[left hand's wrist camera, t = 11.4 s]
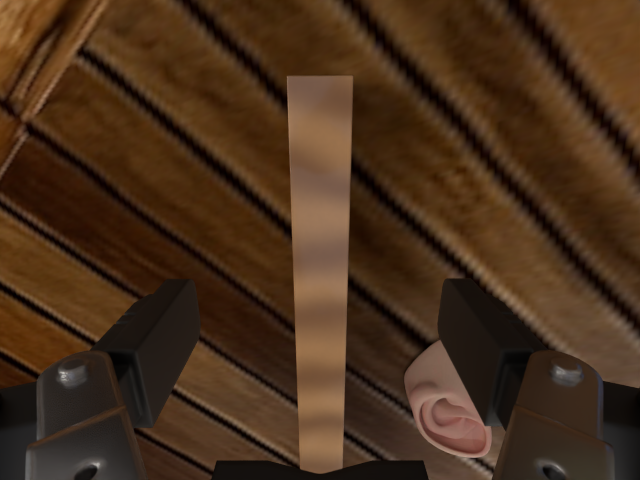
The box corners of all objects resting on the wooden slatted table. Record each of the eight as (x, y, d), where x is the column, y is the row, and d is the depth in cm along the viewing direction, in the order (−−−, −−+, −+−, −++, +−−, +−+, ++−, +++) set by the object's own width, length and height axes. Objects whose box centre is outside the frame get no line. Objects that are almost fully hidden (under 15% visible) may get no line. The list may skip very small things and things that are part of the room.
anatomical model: (432, 354, 34) (540, 376, 35) (421, 330, 38) (519, 350, 39) (392, 450, 39) (488, 466, 40) (385, 420, 43) (474, 435, 43)
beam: (293, 81, 29) (286, 75, 23) (346, 81, 29) (353, 75, 23) (304, 492, 47) (302, 548, 41) (337, 492, 47) (340, 548, 41)
